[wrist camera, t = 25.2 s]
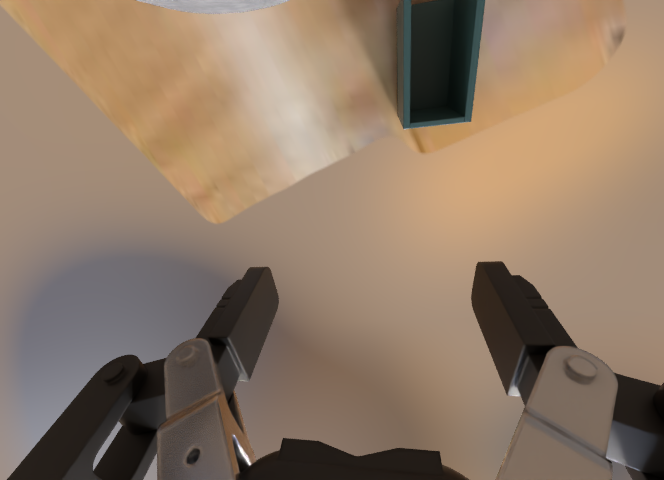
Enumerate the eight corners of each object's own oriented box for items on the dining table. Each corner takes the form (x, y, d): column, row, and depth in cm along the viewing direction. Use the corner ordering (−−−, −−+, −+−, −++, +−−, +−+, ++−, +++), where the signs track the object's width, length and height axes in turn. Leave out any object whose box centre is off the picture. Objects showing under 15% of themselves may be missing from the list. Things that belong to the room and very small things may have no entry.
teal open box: (451, 109, 32) (471, 121, 26) (397, 115, 33) (403, 129, 27) (460, -4, 27) (488, -25, 21) (396, 8, 28) (403, -8, 22)
